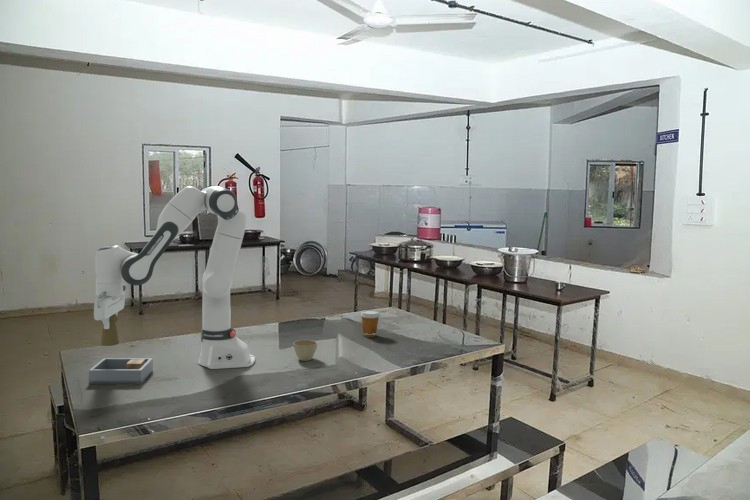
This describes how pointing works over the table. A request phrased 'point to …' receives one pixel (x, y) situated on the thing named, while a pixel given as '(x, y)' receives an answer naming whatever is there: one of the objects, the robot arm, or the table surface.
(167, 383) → the table surface
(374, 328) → the disposable coffee cup
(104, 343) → the cork
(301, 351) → the flower pot
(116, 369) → the tote
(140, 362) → the tan cube
